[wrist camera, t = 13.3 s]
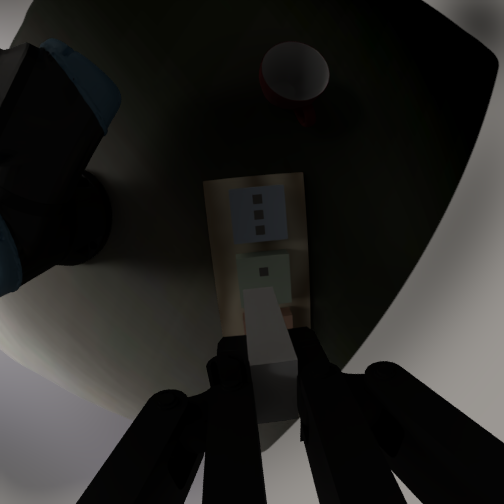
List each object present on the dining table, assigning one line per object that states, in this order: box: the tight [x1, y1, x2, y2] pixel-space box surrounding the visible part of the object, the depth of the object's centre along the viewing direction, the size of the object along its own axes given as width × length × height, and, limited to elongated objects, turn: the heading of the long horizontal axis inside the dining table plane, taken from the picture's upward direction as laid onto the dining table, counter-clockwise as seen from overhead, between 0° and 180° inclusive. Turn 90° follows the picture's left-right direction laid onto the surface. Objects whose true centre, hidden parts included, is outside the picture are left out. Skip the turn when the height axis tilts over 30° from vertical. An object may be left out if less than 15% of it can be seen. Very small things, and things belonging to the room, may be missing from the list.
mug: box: [259, 41, 330, 127], centre depth 34 cm, size 10×8×10 cm
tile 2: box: [236, 249, 292, 308], centre depth 41 cm, size 7×7×3 cm
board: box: [203, 172, 311, 337], centre depth 43 cm, size 14×28×3 cm, turn 5°
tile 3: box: [229, 185, 288, 244], centre depth 39 cm, size 7×7×3 cm
